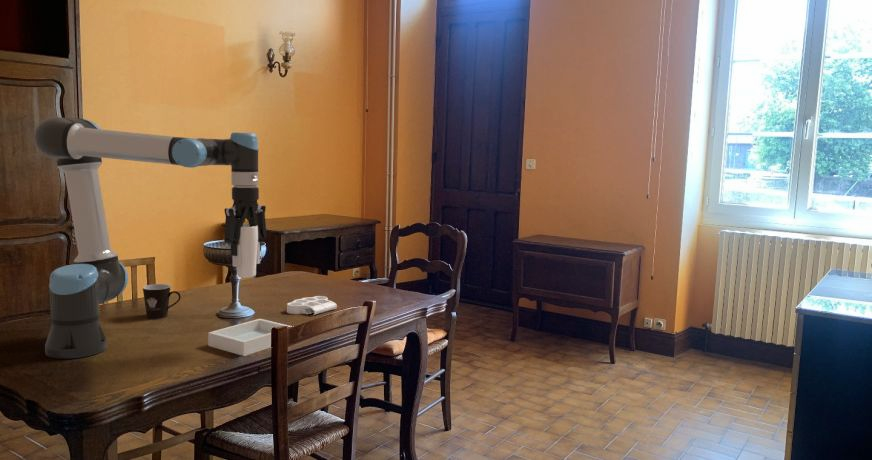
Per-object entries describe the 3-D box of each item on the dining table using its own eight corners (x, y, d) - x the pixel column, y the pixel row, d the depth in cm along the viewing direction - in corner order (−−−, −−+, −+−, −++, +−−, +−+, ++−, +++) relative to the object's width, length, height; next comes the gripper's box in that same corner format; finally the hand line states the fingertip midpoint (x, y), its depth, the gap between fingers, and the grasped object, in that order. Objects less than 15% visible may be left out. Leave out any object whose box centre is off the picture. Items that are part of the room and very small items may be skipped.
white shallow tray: (244, 356, 187) (244, 342, 187) (208, 345, 195) (208, 332, 195) (294, 339, 204) (294, 326, 204) (259, 330, 212) (259, 318, 211)
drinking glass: (263, 276, 198) (262, 225, 196) (245, 279, 192) (244, 227, 190) (247, 273, 201) (246, 223, 200) (229, 276, 196) (228, 225, 194)
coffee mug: (137, 316, 223) (136, 287, 222) (158, 311, 230) (158, 283, 229) (161, 322, 218) (161, 292, 216) (182, 316, 225) (182, 287, 224)
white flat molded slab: (308, 319, 229) (277, 311, 237) (342, 309, 244) (313, 302, 252) (308, 309, 229) (277, 302, 237) (343, 300, 244) (313, 294, 252)
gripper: (227, 188, 183) (228, 271, 186) (279, 185, 200) (279, 261, 203) (208, 187, 187) (210, 268, 190) (261, 184, 203) (262, 258, 207)
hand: (246, 264), depth 196 cm, fingers closed on drinking glass, 7 cm apart
